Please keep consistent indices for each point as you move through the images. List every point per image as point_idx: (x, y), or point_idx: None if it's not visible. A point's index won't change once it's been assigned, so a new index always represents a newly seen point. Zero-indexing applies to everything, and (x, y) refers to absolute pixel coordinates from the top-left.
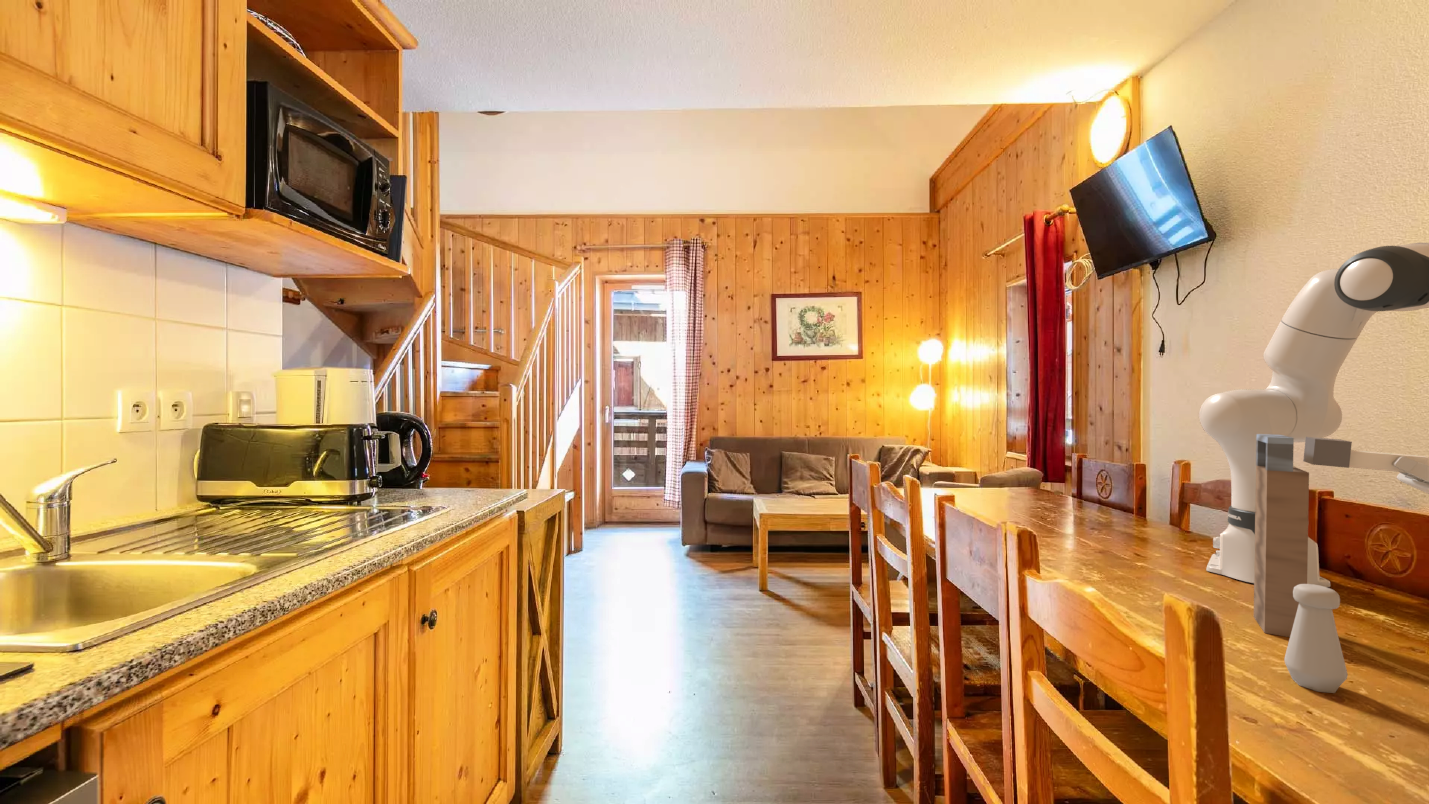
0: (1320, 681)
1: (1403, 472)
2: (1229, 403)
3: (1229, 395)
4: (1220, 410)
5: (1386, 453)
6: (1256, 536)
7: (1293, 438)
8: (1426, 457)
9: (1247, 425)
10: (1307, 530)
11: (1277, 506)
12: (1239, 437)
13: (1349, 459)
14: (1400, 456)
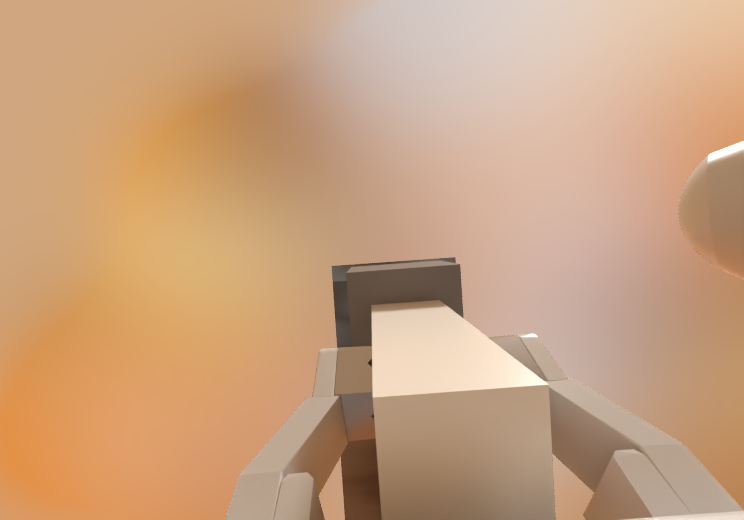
0: None
1: (588, 480)
2: (694, 177)
3: (710, 155)
4: (680, 199)
5: (422, 327)
6: None
7: (332, 267)
8: (374, 382)
9: (736, 229)
10: (345, 510)
11: None
12: (739, 264)
13: (351, 333)
14: (357, 347)
